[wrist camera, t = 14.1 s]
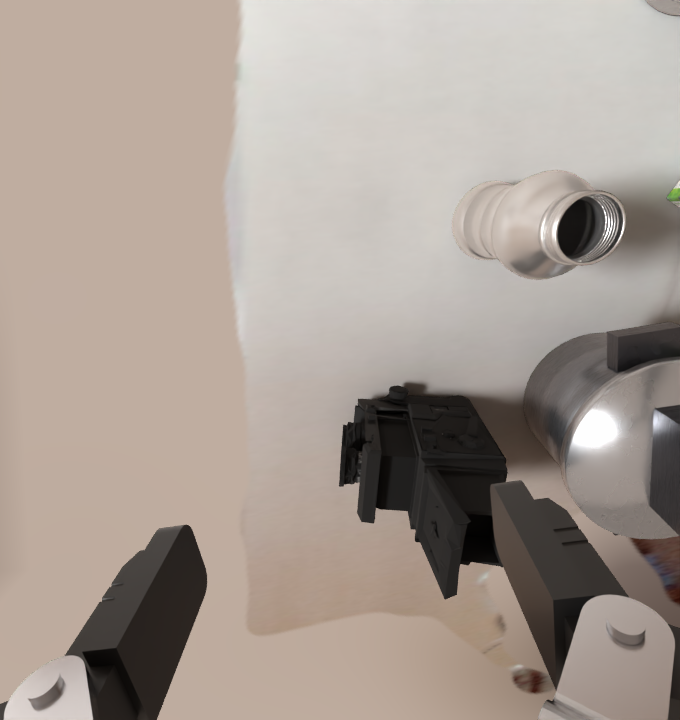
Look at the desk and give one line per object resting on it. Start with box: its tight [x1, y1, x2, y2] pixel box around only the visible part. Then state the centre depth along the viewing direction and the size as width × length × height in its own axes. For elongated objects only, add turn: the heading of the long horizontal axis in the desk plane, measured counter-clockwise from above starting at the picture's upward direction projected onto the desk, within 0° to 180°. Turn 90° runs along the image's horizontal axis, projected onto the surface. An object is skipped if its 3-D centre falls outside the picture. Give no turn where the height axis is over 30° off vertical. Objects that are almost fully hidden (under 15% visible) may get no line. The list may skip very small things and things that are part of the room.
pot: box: [524, 322, 680, 535], centre depth 41 cm, size 19×15×11 cm
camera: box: [339, 386, 508, 599], centre depth 39 cm, size 10×14×20 cm
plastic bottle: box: [452, 170, 626, 280], centre depth 32 cm, size 6×7×20 cm
